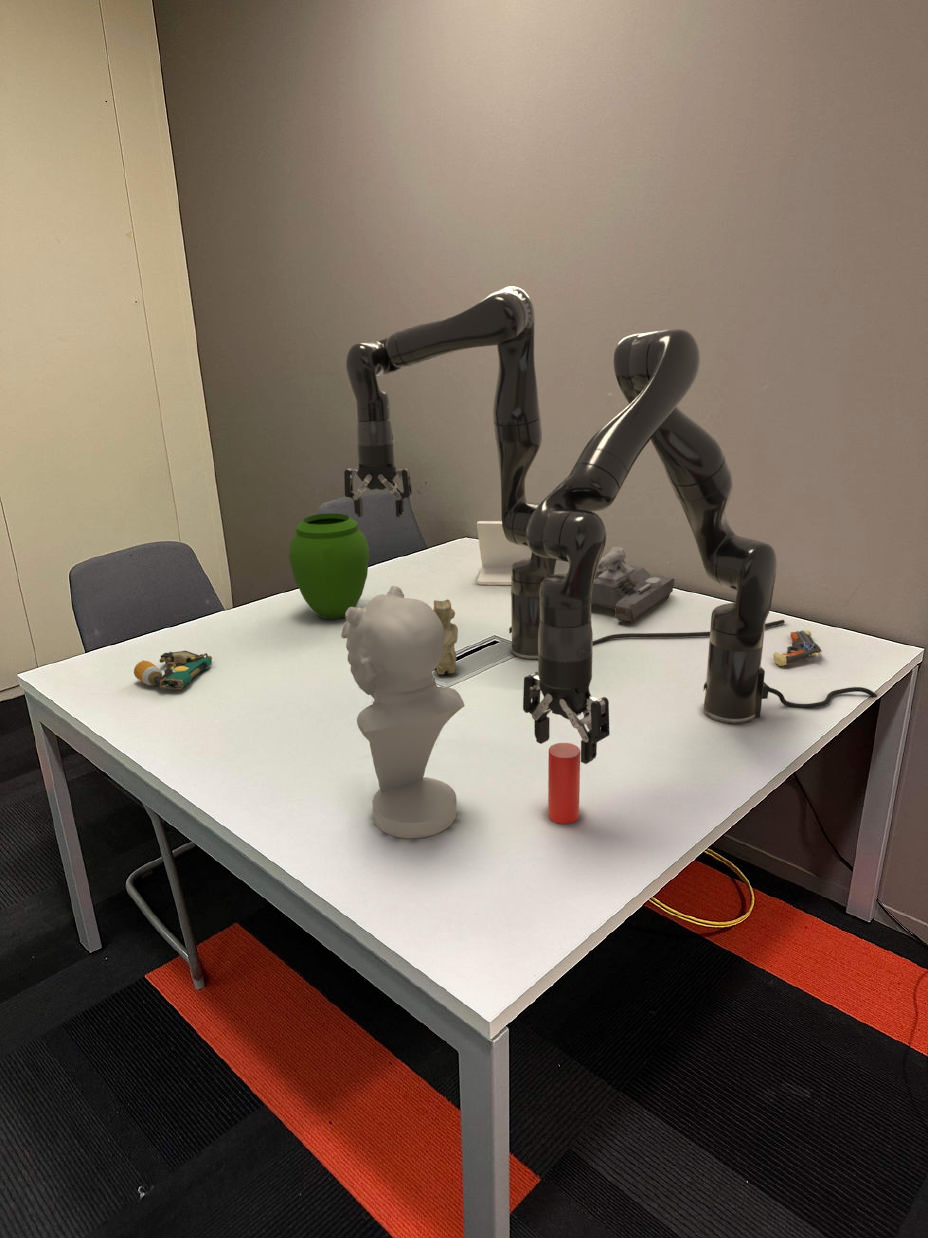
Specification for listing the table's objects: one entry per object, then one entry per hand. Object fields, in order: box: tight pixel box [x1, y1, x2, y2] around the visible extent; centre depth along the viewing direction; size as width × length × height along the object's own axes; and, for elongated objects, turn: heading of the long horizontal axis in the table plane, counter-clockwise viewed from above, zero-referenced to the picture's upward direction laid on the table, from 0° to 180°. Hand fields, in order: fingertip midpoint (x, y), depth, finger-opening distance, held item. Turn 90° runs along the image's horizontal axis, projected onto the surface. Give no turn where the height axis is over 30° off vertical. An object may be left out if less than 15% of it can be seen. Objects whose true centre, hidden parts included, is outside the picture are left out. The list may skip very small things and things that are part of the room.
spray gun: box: [133, 650, 213, 690], centre depth 180 cm, size 4×17×15 cm
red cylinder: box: [547, 742, 581, 825], centre depth 127 cm, size 5×5×11 cm
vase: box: [288, 512, 370, 620], centre depth 209 cm, size 20×20×24 cm
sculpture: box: [433, 599, 459, 675], centre depth 177 cm, size 6×7×15 cm
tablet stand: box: [476, 520, 569, 586], centre depth 236 cm, size 18×25×17 cm
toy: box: [591, 546, 676, 624], centre depth 212 cm, size 25×20×15 cm
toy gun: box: [772, 630, 823, 667], centre depth 183 cm, size 3×19×10 cm
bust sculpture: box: [340, 585, 465, 839], centre depth 128 cm, size 16×24×35 cm, turn 28°
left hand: (379, 516), depth 186 cm, fingers open, 8 cm apart
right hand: (564, 751), depth 125 cm, fingers open, 8 cm apart
